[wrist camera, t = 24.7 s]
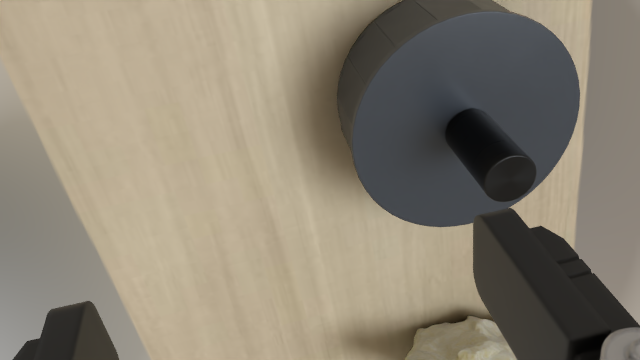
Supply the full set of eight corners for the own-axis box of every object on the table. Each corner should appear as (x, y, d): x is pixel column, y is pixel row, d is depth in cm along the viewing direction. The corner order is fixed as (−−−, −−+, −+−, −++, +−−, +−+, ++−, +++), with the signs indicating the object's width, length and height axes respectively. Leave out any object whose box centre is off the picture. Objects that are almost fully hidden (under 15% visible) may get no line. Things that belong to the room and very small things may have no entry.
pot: (324, 11, 38) (344, 41, 33) (530, -28, 39) (580, -6, 34) (348, 191, 46) (367, 237, 40) (521, 153, 47) (560, 194, 42)
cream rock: (535, 322, 60) (574, 313, 46) (539, 399, 58) (581, 413, 44) (385, 316, 63) (378, 305, 49) (384, 389, 61) (375, 400, 47)
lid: (334, 32, 33) (364, 79, 27) (581, -16, 34) (662, 19, 28) (360, 237, 41) (388, 308, 35) (561, 193, 42) (621, 254, 36)
